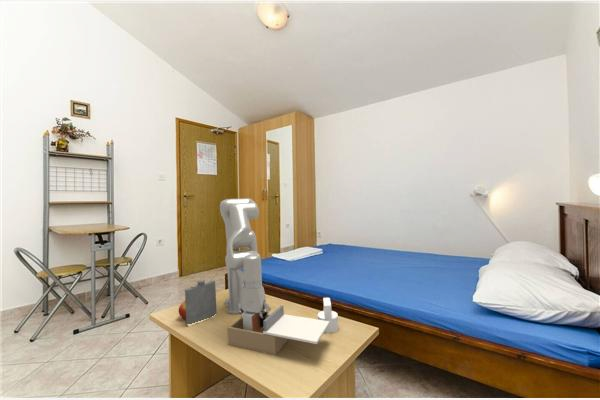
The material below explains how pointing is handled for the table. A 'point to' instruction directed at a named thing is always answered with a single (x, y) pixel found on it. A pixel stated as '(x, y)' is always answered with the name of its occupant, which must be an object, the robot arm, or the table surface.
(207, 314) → the grey flat upright block
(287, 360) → the table surface
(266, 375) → the table surface
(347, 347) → the table surface
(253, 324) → the small box
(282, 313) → the lid
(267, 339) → the tray
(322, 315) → the base with upright slab
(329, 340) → the table surface
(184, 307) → the apple
